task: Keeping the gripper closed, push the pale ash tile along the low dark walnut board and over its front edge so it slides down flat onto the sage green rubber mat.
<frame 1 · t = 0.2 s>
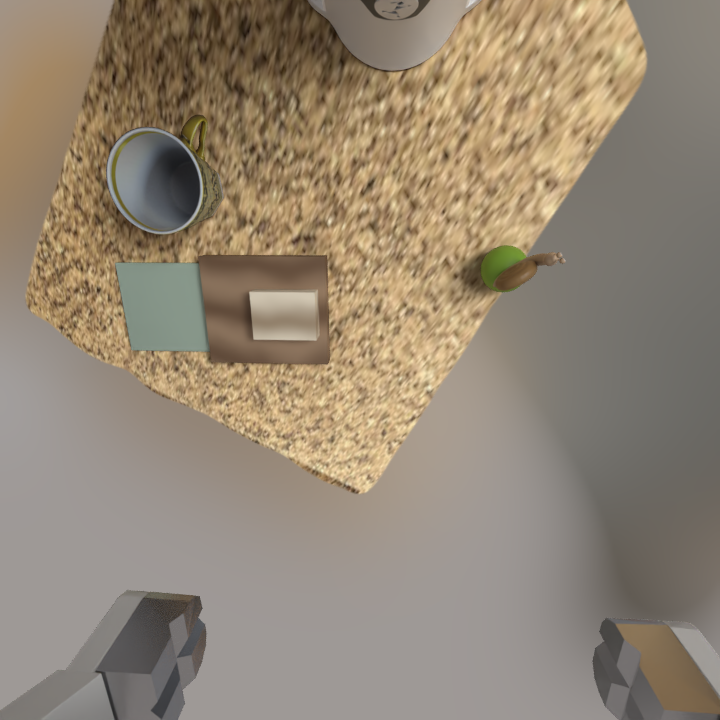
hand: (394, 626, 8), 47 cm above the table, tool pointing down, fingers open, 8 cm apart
rubber mat: (168, 307, 56), on the table
ceramic cup: (204, 179, 50), on the table
ash tile: (288, 312, 53), point 2 cm above the table, touching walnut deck
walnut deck: (269, 309, 55), on the table
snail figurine: (501, 264, 51), on the table
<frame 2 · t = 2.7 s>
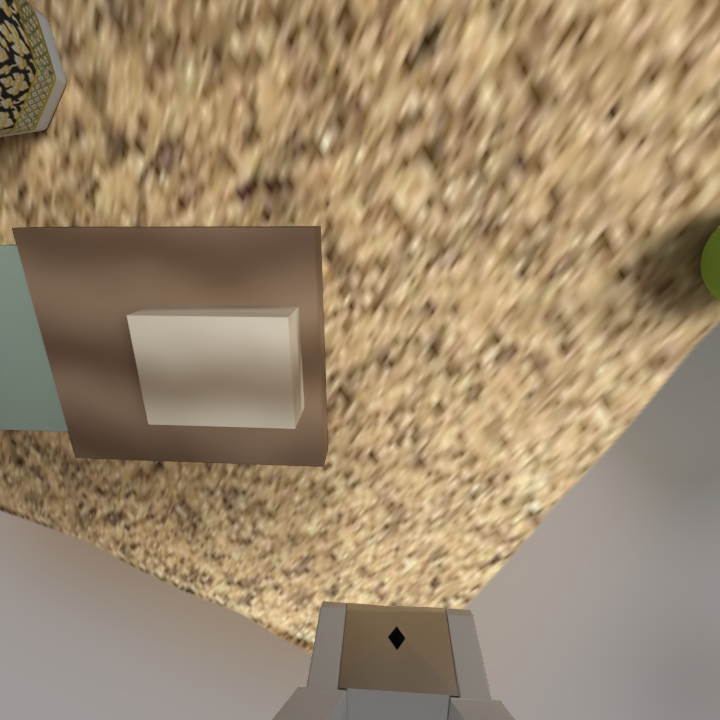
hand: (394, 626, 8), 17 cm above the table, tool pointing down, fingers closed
ceramic cup: (17, 37, 20), on the table
ash tile: (231, 357, 23), point 2 cm above the table, touching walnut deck
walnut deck: (195, 346, 25), on the table
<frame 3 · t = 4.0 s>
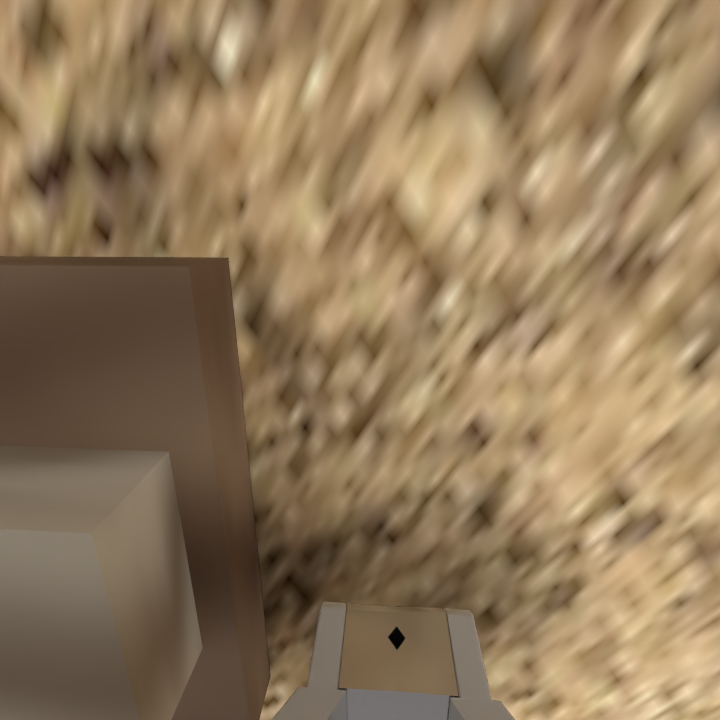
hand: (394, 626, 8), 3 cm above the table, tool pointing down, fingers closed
ash tile: (31, 551, 10), point 2 cm above the table, touching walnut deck
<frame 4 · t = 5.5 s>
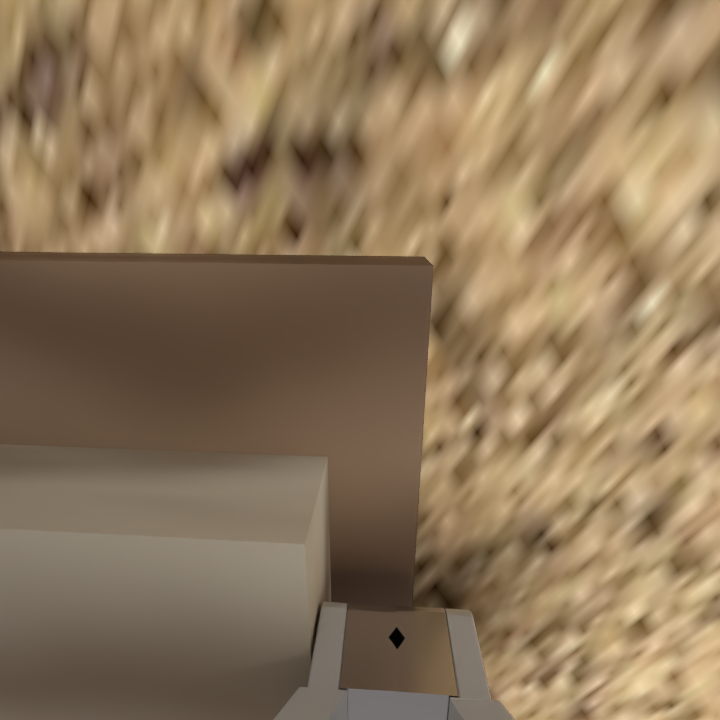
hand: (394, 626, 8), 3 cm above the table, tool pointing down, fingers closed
ash tile: (166, 557, 10), point 2 cm above the table, touching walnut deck
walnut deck: (134, 499, 12), on the table
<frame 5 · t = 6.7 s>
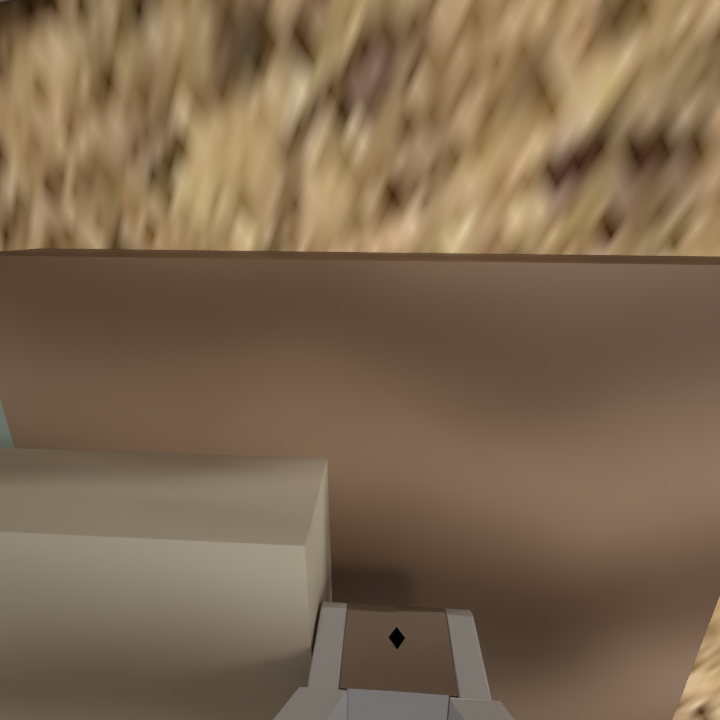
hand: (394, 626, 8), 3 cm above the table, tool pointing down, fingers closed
ash tile: (168, 559, 10), point 2 cm above the table, touching gripper
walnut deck: (370, 508, 12), on the table
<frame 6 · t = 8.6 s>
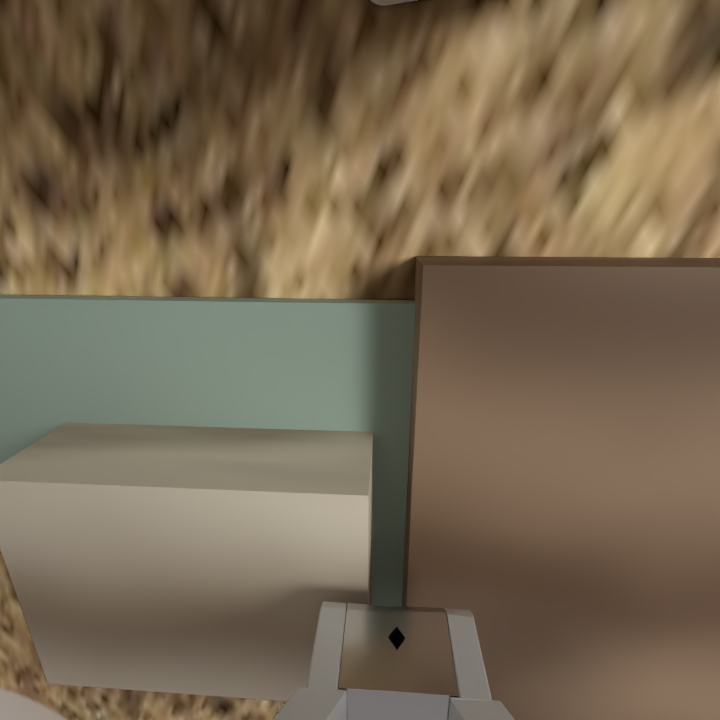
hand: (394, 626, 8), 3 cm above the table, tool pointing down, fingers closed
rubber mat: (197, 502, 12), on the table
ash tile: (228, 523, 11), resting on rubber mat
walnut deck: (703, 526, 11), on the table
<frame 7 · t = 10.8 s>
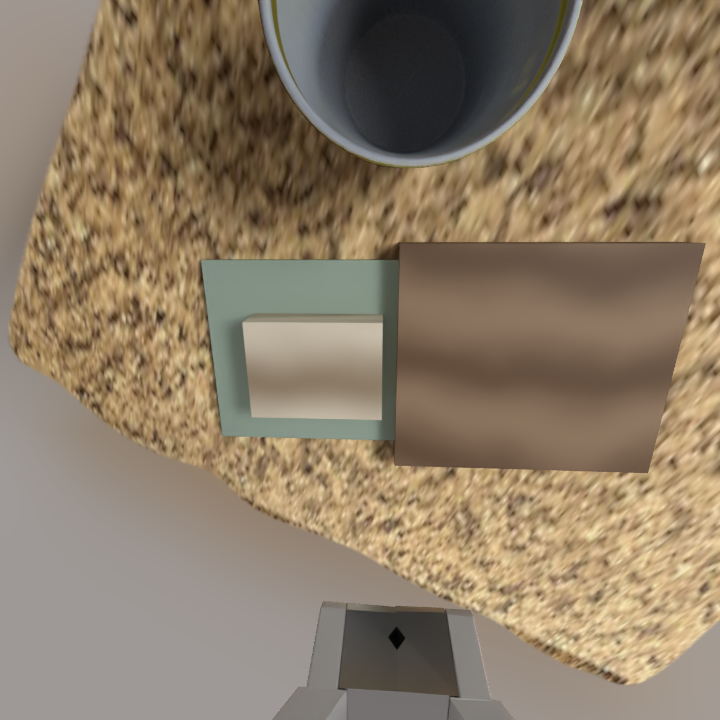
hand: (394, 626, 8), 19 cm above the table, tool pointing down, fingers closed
rubber mat: (304, 353, 27), on the table
ceramic cup: (422, 65, 22), on the table
ash tile: (320, 359, 26), resting on rubber mat
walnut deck: (522, 356, 26), on the table
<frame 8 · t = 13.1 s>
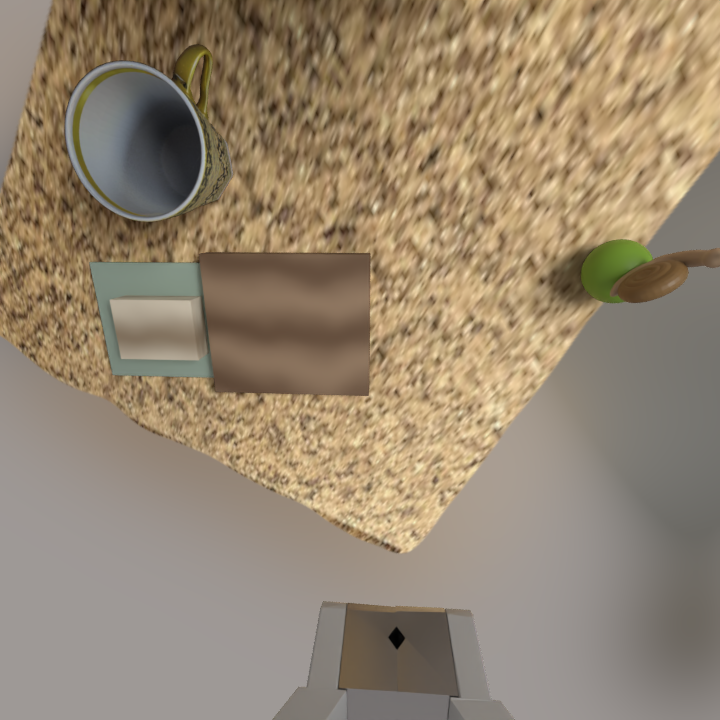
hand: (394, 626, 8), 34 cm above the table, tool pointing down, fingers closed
rubber mat: (159, 321, 43), on the table
ceramic cup: (207, 150, 37), on the table
ash tile: (167, 324, 42), resting on rubber mat
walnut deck: (291, 323, 42), on the table
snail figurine: (604, 265, 38), on the table
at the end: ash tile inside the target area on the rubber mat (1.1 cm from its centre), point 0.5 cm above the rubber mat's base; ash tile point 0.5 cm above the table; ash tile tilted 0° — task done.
